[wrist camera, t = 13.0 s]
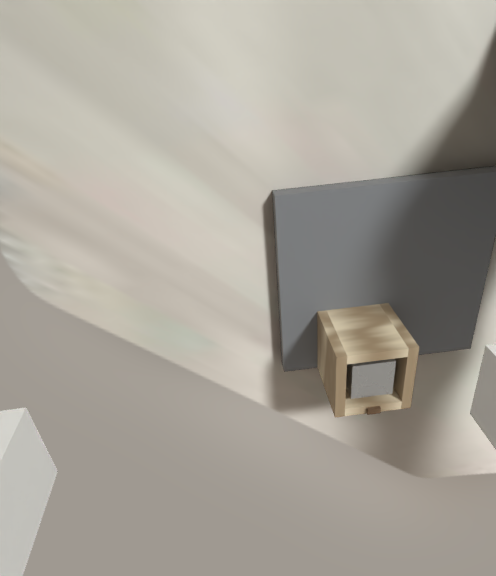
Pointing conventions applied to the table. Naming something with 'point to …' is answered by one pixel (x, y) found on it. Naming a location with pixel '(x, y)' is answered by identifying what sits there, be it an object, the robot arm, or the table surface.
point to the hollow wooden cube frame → (364, 355)
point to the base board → (385, 255)
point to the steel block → (370, 378)
